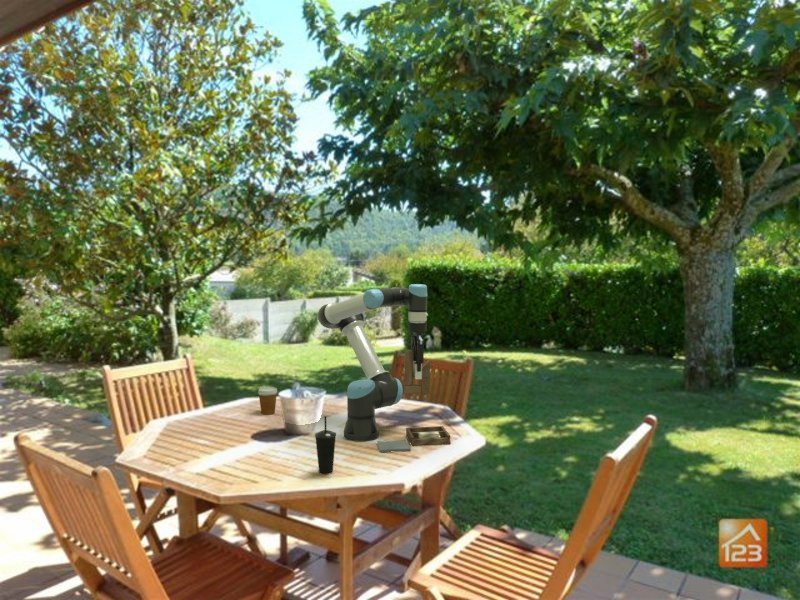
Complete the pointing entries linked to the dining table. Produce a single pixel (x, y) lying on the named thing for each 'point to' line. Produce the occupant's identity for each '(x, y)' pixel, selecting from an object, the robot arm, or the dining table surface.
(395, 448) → the slate tile
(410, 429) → the walnut rack
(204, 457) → the dining table surface
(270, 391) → the disposable coffee cup
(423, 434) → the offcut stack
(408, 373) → the wooden block assembly
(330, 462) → the drinking cup
